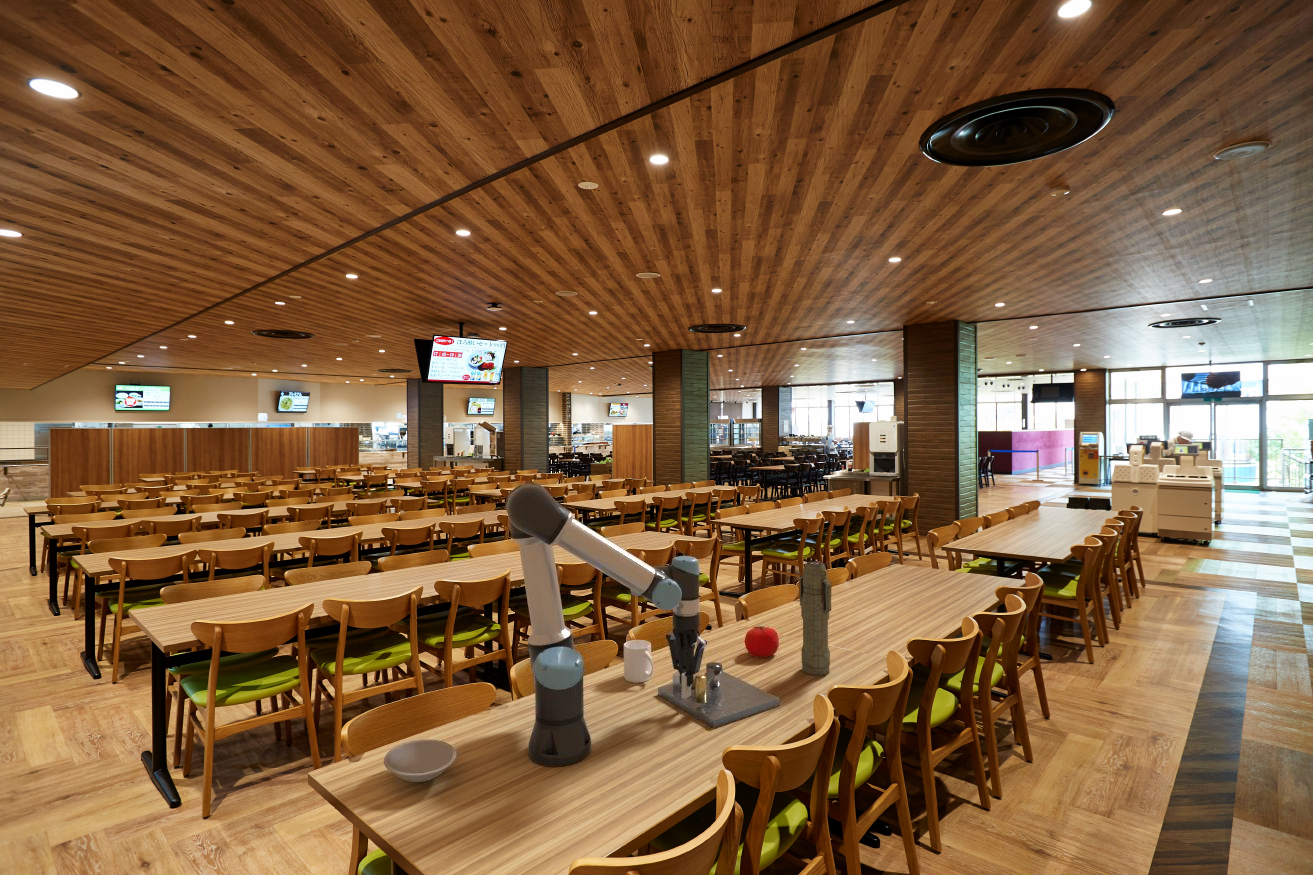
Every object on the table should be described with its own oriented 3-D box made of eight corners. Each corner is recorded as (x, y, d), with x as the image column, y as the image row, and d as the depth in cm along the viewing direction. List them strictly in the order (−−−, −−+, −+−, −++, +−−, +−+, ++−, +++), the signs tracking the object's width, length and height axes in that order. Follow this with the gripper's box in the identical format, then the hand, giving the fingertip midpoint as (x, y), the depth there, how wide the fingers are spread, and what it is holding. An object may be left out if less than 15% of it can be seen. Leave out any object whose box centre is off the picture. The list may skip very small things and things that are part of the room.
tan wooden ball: (691, 692, 180) (691, 678, 180) (683, 687, 183) (682, 674, 183) (702, 689, 182) (701, 675, 182) (693, 684, 185) (693, 671, 185)
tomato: (786, 657, 213) (785, 627, 213) (753, 663, 208) (753, 632, 208) (768, 647, 223) (768, 619, 223) (737, 652, 218) (737, 623, 218)
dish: (370, 778, 139) (370, 756, 139) (429, 752, 151) (429, 732, 151) (410, 807, 128) (410, 783, 128) (470, 778, 139) (470, 755, 139)
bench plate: (713, 728, 162) (713, 705, 162) (657, 694, 183) (657, 674, 183) (779, 705, 175) (779, 683, 175) (720, 676, 197) (720, 657, 197)
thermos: (824, 679, 193) (823, 567, 193) (792, 669, 202) (791, 562, 202) (839, 672, 199) (838, 563, 199) (808, 662, 208) (807, 558, 208)
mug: (641, 689, 187) (641, 653, 187) (618, 677, 197) (618, 643, 197) (663, 681, 193) (663, 647, 193) (640, 670, 202) (639, 637, 202)
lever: (690, 702, 170) (690, 677, 170) (708, 677, 188) (707, 654, 188) (708, 704, 169) (707, 679, 169) (724, 679, 187) (723, 656, 187)
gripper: (659, 611, 174) (660, 694, 175) (697, 619, 166) (698, 707, 167) (675, 605, 180) (675, 686, 180) (712, 613, 172) (713, 697, 172)
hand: (686, 696), depth 173 cm, fingers closed
